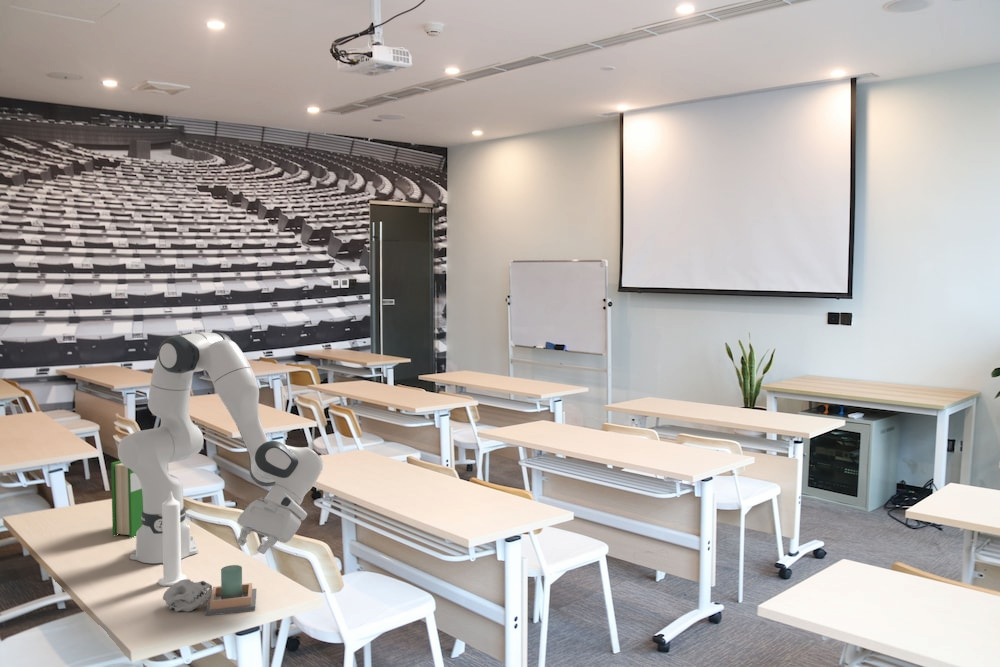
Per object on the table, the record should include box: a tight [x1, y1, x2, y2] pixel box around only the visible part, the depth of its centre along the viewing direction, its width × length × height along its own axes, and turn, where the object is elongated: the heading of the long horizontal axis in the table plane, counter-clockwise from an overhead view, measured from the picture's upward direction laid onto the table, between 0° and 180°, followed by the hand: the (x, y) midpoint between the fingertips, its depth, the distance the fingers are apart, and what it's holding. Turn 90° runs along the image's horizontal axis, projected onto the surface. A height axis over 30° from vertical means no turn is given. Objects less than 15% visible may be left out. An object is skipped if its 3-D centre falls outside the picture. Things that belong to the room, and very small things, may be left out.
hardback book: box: [110, 460, 169, 538], centre depth 249 cm, size 18×7×24 cm, turn 165°
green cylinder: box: [220, 564, 243, 599], centre depth 190 cm, size 5×5×8 cm
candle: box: [158, 491, 187, 587], centre depth 204 cm, size 7×7×25 cm
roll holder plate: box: [204, 582, 257, 616], centre depth 190 cm, size 12×12×3 cm
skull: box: [162, 578, 213, 613], centre depth 187 cm, size 8×9×12 cm
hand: (249, 548), depth 194 cm, fingers open, 8 cm apart
